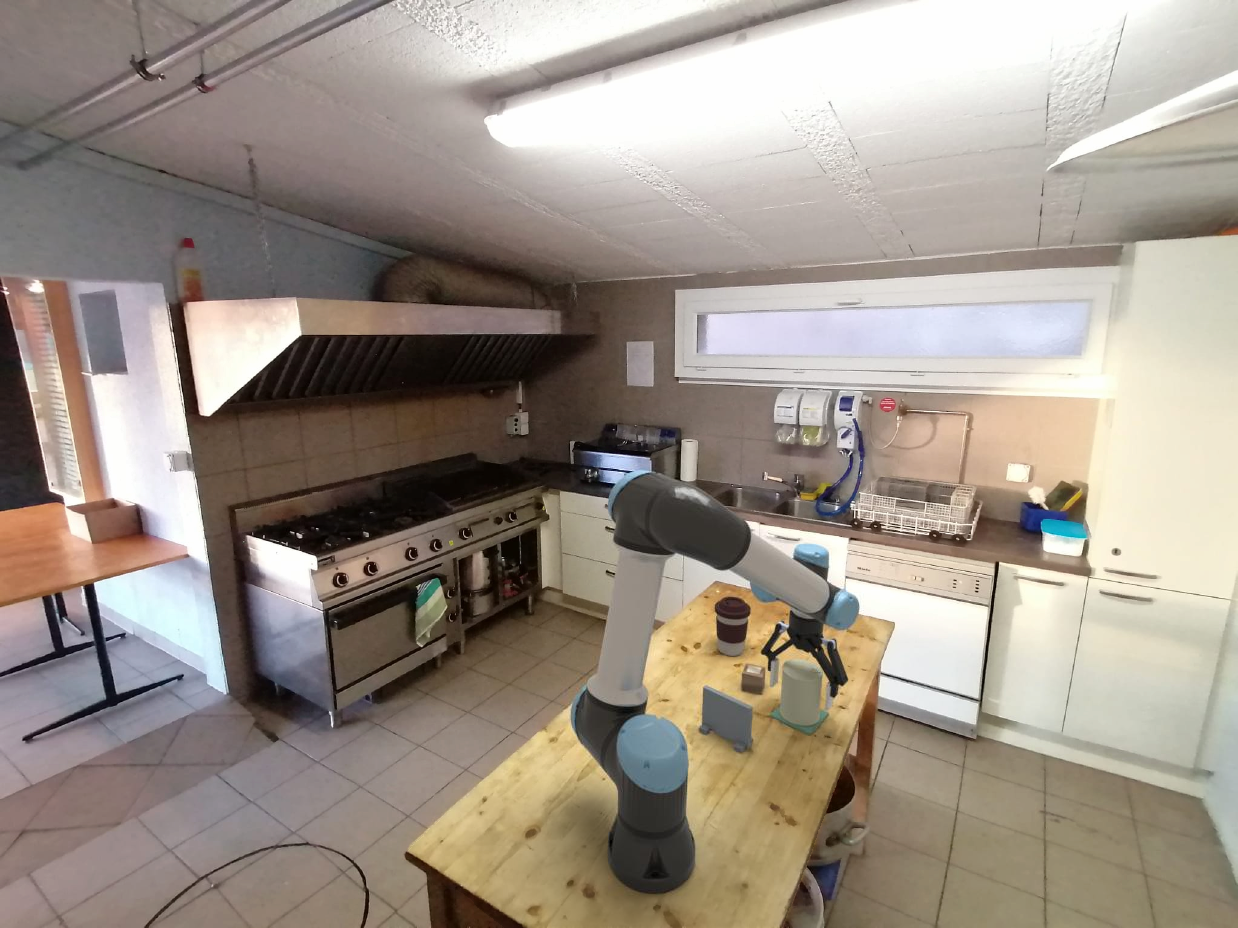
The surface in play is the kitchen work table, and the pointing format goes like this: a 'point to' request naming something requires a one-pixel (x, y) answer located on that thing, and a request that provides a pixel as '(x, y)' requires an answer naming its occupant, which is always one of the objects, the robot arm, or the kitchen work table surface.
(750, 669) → the letter cube
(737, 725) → the screen
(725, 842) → the kitchen work table surface
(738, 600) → the coffee cup
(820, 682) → the can
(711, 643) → the kitchen work table surface
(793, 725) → the mat
